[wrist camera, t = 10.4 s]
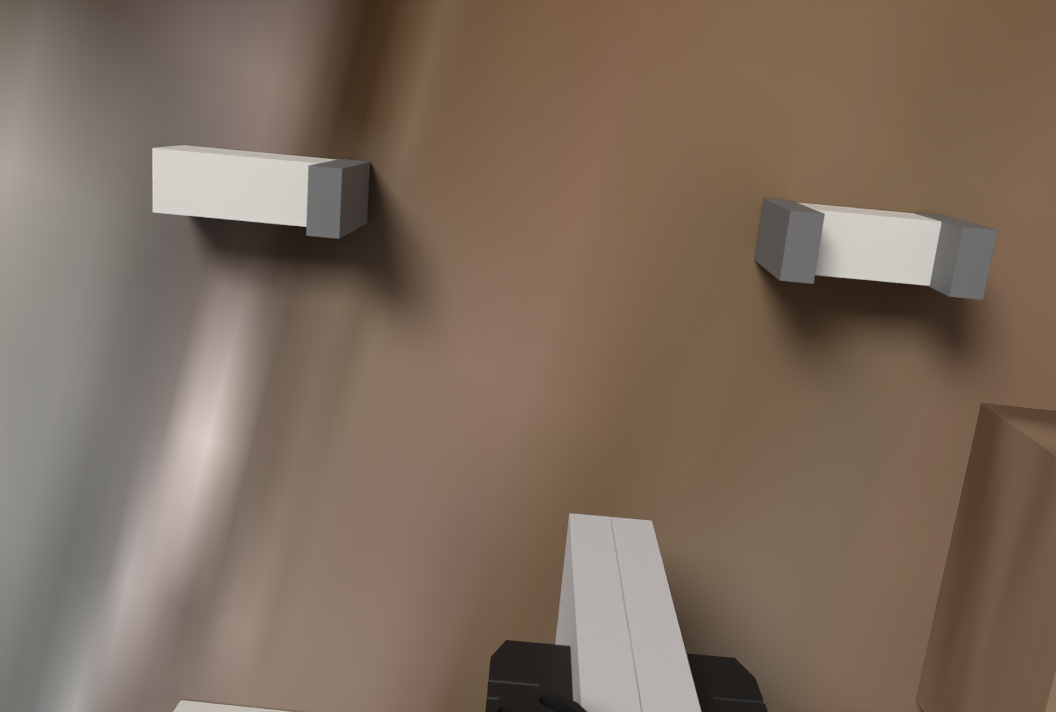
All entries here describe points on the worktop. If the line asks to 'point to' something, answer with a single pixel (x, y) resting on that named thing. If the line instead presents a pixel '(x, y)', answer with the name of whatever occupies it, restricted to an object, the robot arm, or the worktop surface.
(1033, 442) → the block
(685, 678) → the robot arm
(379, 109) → the worktop surface
